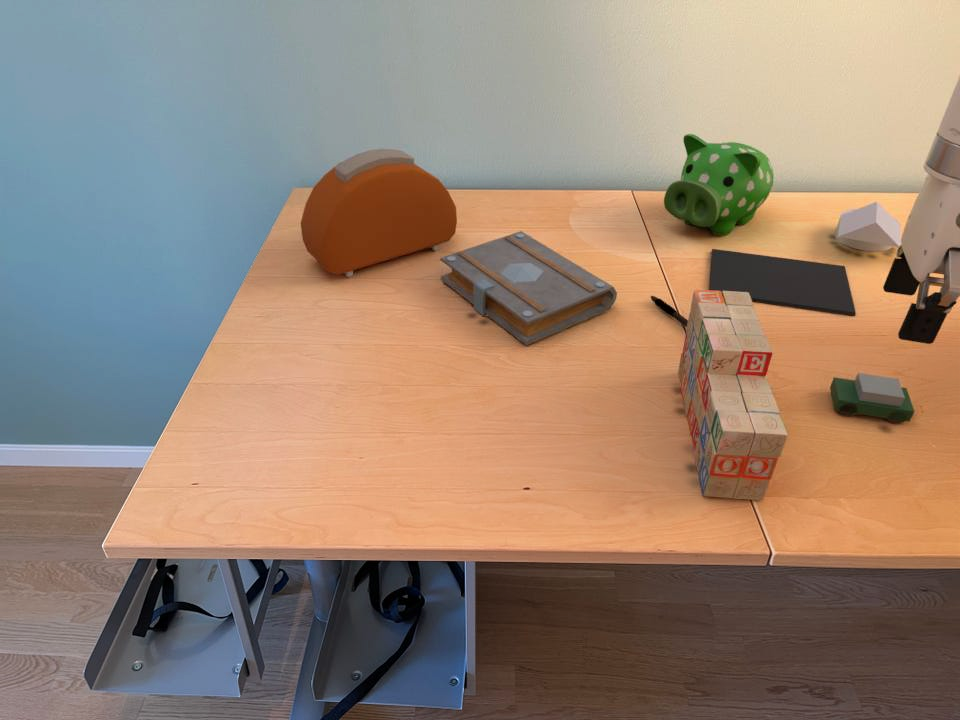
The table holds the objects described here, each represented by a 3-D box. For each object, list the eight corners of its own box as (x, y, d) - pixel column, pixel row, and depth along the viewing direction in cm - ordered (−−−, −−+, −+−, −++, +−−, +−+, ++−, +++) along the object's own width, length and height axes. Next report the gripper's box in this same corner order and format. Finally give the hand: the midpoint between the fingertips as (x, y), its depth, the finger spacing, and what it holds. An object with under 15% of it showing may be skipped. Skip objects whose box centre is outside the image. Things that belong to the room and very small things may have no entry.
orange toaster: (432, 226, 122) (427, 130, 111) (459, 246, 115) (456, 147, 105) (305, 262, 111) (287, 160, 101) (327, 286, 105) (311, 180, 95)
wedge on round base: (893, 267, 110) (893, 233, 119) (908, 228, 105) (907, 195, 115) (831, 255, 113) (836, 223, 122) (844, 217, 109) (848, 186, 118)
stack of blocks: (764, 502, 71) (797, 411, 63) (701, 498, 71) (726, 406, 64) (727, 374, 88) (749, 289, 80) (676, 371, 88) (694, 287, 81)
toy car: (910, 378, 81) (919, 402, 78) (899, 402, 83) (907, 426, 80) (837, 367, 83) (842, 390, 80) (828, 391, 85) (833, 414, 82)
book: (614, 309, 100) (618, 279, 97) (523, 348, 92) (525, 317, 89) (524, 252, 114) (525, 224, 111) (438, 282, 106) (437, 253, 103)
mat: (843, 269, 109) (844, 265, 109) (854, 316, 98) (856, 312, 98) (711, 251, 114) (712, 248, 113) (708, 295, 103) (708, 291, 103)
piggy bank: (648, 225, 122) (662, 140, 112) (707, 196, 131) (724, 115, 122) (720, 254, 113) (741, 164, 104) (777, 220, 123) (801, 136, 114)
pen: (723, 348, 92) (724, 341, 91) (713, 351, 91) (715, 344, 91) (656, 298, 102) (658, 291, 101) (647, 300, 101) (648, 294, 101)
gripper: (1053, 201, 57) (964, 368, 67) (994, 133, 70) (927, 281, 80) (951, 190, 58) (879, 354, 69) (912, 126, 72) (857, 271, 82)
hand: (905, 315), depth 74 cm, fingers open, 9 cm apart
